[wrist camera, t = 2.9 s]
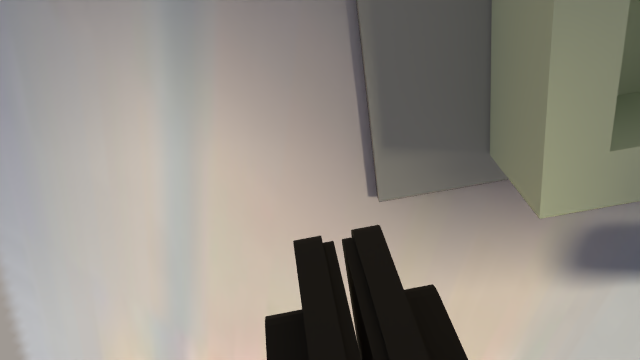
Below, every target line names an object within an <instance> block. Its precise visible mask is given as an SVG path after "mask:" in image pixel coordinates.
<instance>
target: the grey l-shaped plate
mask: <svg viewBox="0 0 640 360" xmlns="http://www.w3.org/2000/svg"><path fill="white" fill-rule="evenodd" d="M356 1H357V10H358V20H359V29H360V38H361V47H362V57H363V66H364V75H365V85H366V94H367V103H368V112H369V122H370V131H371V140H372V150H373V159H374V168H375V177H376V187H377V196H378V200H379V202H382V201H388V200H394V199H400V198H405V197H411V196H417V195H422V194H428V193H434V192H440V191H445V190H451V189H457V188H462V187H468V186H474V185H480V184H485V183H491V182H497V181H502V180H508V178H507V176H506V175H505V174H504V172H503V171H502V170H501V169H500V167H499V166H498V165H497V163H496V162H495V161H494V159H493V158H492V157H491V156H490V102H491V18H492V0H356Z"/></svg>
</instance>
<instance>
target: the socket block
mask: <svg viewBox="0 0 640 360" xmlns="http://www.w3.org/2000/svg"><path fill="white" fill-rule="evenodd" d="M490 156H491V157H492V158H493V159H494V161H495V162H496V163H497V165H498V166H499V167H500V169H501V170H502V171H503V172H504V174H505V175H506V176H507V178H508V179H509V180H510V181H511V183H512V184H513V185H514V187H515V188H516V189H517V190H518V192H519V193H520V194H521V196H522V197H523V198H524V199H525V201H526V202H527V203H528V205H529V206H530V207H531V209H532V210H533V211H534V212H535V214H536V215H537V216H538V218H539V219H542V218H547V217H553V216H559V215H564V214H570V213H576V212H581V211H587V210H593V209H598V208H604V207H610V206H615V205H621V204H627V203H632V202H638V201H640V0H492V18H491V102H490Z"/></svg>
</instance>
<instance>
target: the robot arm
mask: <svg viewBox="0 0 640 360" xmlns="http://www.w3.org/2000/svg"><path fill="white" fill-rule="evenodd" d="M351 234H352V238H346V239H342V245H343V251H344V258H345V264H346V271H347V278H348V284H349V291H350V297H351V304H352V310H353V317H354V323H355V330H356V335H355V331H354V326H353V322H352V318H351V314H350V309H349V305H348V301H347V297H346V293H345V288H344V284H343V280H342V276H341V271H340V267H339V263H338V259H337V254H336V250H335V246H334V242H333V241H331V242H325V243H322V238H321V236H316V237H311V238H306V239H300V240H295V241H293V242H294V250H295V258H296V265H297V273H298V280H299V288H300V295H301V303H302V310H297V311H292V312H287V313H282V314H276V315H271V316H266V318H265V331H266V351H267V360H468V358H467V356H466V354H465V352H464V349H463V347H462V345H461V343H460V340H459V338H458V336H457V334H456V332H455V329H454V327H453V325H452V323H451V320H450V318H449V316H448V314H447V311H446V309H445V307H444V305H443V302H442V300H441V298H440V296H439V293H438V292H437V290H436V288H435V286H434V285H427V286H422V287H417V288H412V289H407V290H404V289H403V287H402V284H401V281H400V278H399V276H398V273H397V270H396V268H395V265H394V262H393V260H392V257H391V254H390V251H389V249H388V246H387V243H386V241H385V238H384V235H383V233H382V230H381V227H380V226H379V225H375V226H370V227H364V228H359V229H354V230H351ZM356 336H357V339H356ZM357 342H358V343H357ZM358 347H359V348H358Z"/></svg>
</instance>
